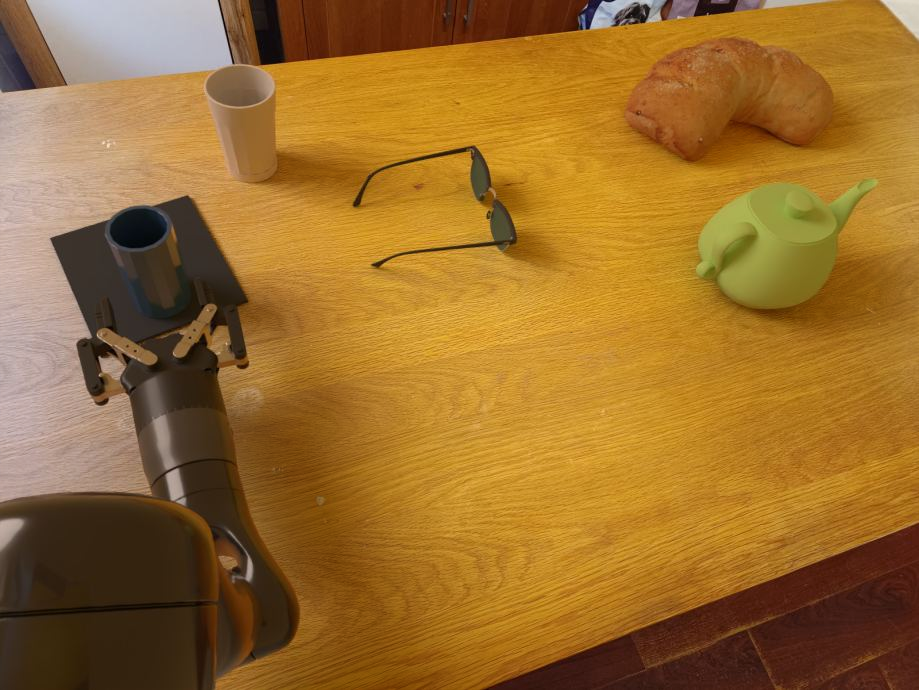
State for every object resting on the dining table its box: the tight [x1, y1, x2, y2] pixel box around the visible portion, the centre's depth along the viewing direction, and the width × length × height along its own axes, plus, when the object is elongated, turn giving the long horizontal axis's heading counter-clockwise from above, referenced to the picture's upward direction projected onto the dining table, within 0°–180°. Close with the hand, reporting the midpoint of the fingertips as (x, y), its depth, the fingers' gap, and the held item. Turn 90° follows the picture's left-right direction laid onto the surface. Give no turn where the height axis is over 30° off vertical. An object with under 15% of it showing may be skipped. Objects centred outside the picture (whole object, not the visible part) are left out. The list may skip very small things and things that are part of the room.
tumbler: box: [105, 204, 192, 319], centre depth 76 cm, size 6×6×11 cm
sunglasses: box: [352, 145, 518, 268], centre depth 90 cm, size 16×17×5 cm
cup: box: [203, 63, 279, 184], centre depth 89 cm, size 8×8×12 cm
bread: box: [624, 36, 834, 162], centre depth 107 cm, size 32×20×10 cm, turn 107°
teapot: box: [695, 177, 879, 310], centre depth 89 cm, size 22×15×13 cm
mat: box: [49, 194, 249, 358], centre depth 83 cm, size 16×18×1 cm
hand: (152, 292), depth 71 cm, fingers open, 8 cm apart
